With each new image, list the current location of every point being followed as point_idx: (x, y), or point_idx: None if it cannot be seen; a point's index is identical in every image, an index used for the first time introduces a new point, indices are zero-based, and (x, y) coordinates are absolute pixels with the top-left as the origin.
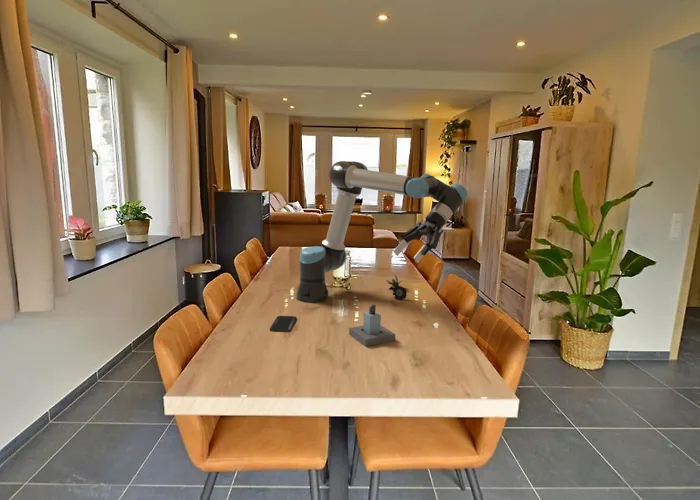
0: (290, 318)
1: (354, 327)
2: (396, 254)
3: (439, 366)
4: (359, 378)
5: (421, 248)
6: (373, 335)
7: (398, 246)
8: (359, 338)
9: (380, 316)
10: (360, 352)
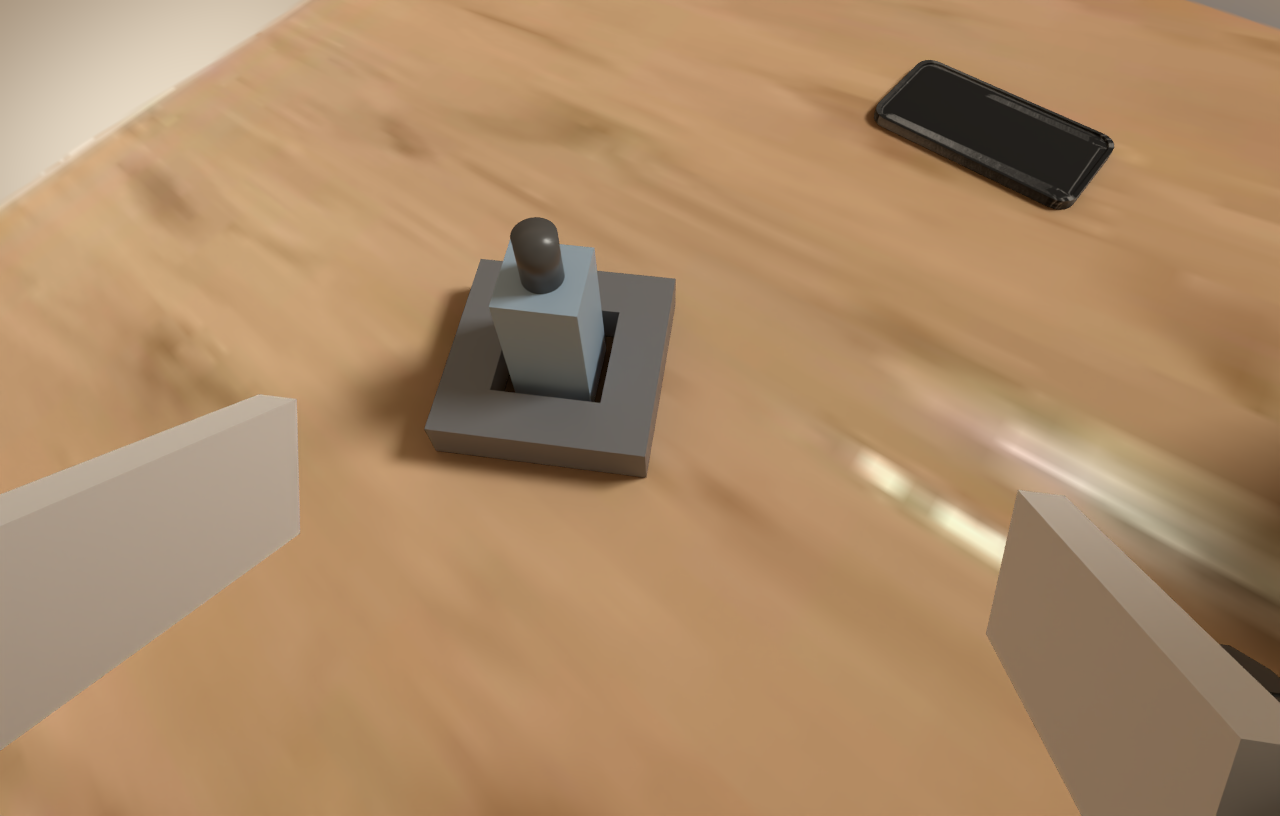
0: (1051, 173)
1: (665, 305)
2: (1001, 590)
3: (57, 419)
4: (286, 124)
5: (75, 483)
6: None
7: (1083, 568)
8: None
9: (491, 312)
10: (454, 235)
